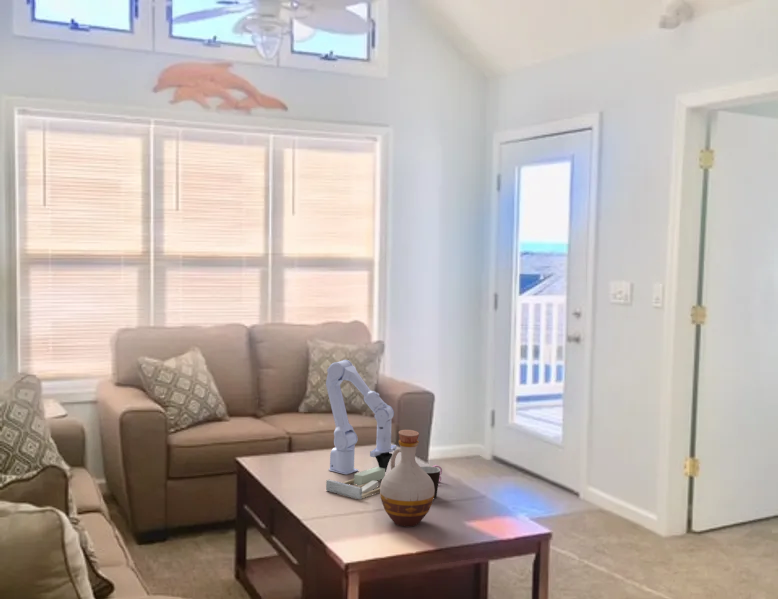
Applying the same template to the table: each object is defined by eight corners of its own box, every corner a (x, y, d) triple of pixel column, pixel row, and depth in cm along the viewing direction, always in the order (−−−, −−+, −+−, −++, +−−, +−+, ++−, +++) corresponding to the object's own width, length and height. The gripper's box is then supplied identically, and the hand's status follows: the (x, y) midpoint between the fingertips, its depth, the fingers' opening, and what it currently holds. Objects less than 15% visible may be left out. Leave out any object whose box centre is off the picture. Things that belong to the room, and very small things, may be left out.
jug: (366, 516, 269) (369, 427, 267) (412, 509, 278) (415, 422, 276) (396, 535, 252) (398, 440, 250) (444, 527, 260) (447, 435, 259)
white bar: (356, 496, 291) (356, 490, 290) (372, 486, 303) (372, 480, 303) (362, 497, 290) (362, 491, 289) (378, 487, 303) (378, 481, 302)
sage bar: (353, 484, 305) (354, 474, 304) (376, 476, 316) (377, 466, 316) (362, 486, 302) (362, 476, 302) (384, 478, 313) (385, 468, 313)
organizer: (326, 491, 295) (326, 480, 295) (355, 481, 309) (355, 471, 308) (359, 499, 286) (359, 488, 286) (387, 489, 299) (387, 478, 299)
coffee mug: (444, 497, 292) (445, 469, 291) (429, 502, 286) (429, 474, 285) (420, 489, 300) (420, 463, 299) (404, 494, 294) (405, 467, 293)
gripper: (380, 442, 306) (379, 477, 307) (403, 435, 318) (402, 469, 319) (366, 439, 311) (365, 474, 311) (388, 433, 322) (387, 466, 323)
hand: (382, 471), depth 315 cm, fingers closed
